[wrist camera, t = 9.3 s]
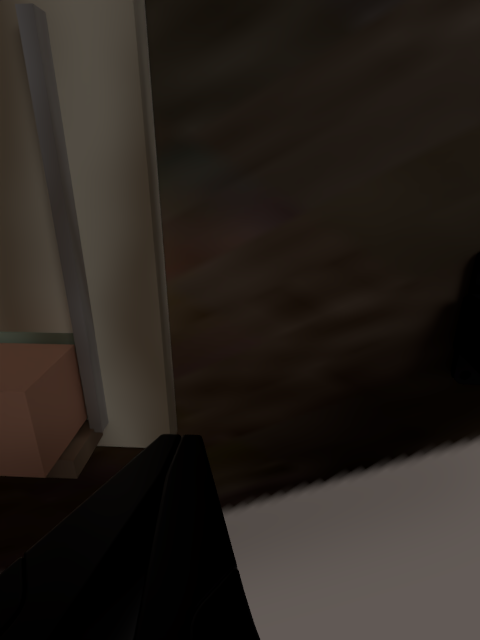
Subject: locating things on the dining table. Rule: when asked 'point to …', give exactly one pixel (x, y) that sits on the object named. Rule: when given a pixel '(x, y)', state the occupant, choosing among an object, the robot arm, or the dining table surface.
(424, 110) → the dining table surface
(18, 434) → the terracotta cardboard box
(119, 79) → the track board
